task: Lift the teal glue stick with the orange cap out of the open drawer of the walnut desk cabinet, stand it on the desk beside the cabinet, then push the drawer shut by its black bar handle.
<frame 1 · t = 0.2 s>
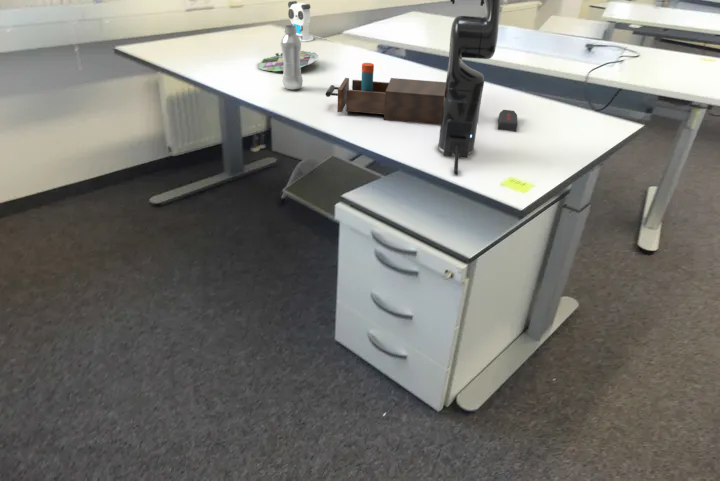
hand: (467, 4, 165), 29 cm above the table, tool pointing down, fingers open, 8 cm apart
drawer: (362, 96, 165), point 4 cm above the table, slide at 13.0 cm, touching glue stick
cabinet: (416, 114, 166), on the table
city model: (288, 66, 207), on the table
plastic bottle: (292, 89, 183), on the table
glue stick: (366, 104, 166), point 2 cm above the table, touching drawer
panda figurine: (300, 39, 245), on the table
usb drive: (506, 124, 162), on the table
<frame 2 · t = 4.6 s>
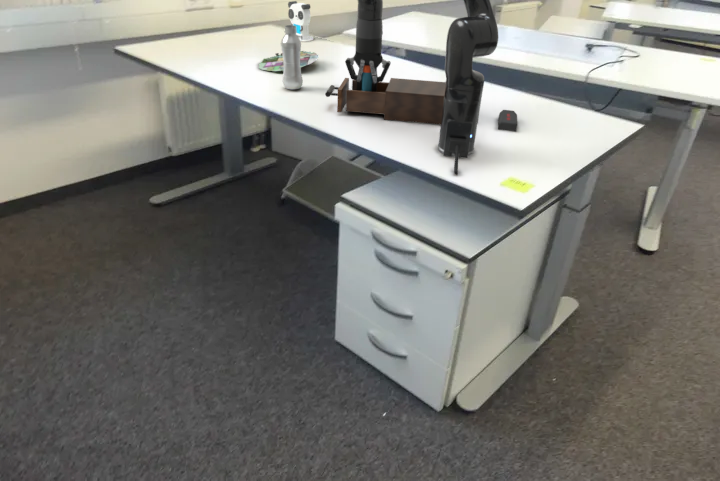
hand: (366, 93, 165), 5 cm above the table, tool pointing down, fingers closed on glue stick, 3 cm apart
glue stick: (366, 104, 166), point 2 cm above the table, touching drawer, gripper
everything else where it was.
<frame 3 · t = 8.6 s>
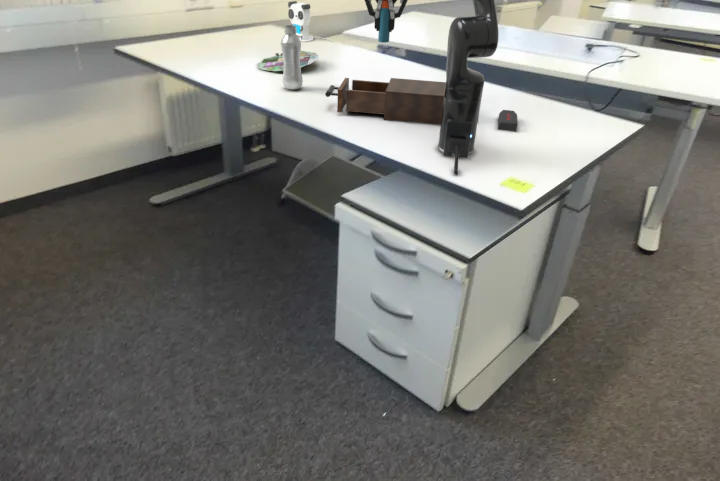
hand: (384, 30, 168), 21 cm above the table, tool pointing down, fingers closed on glue stick, 3 cm apart
drawer: (362, 96, 165), point 4 cm above the table, slide at 13.0 cm
glue stick: (383, 41, 170), point 17 cm above the table, touching gripper
everything else where it was.
when the fingers open (3 cm above the table, at t = 12.6 s): glue stick stays where it is, on the table.
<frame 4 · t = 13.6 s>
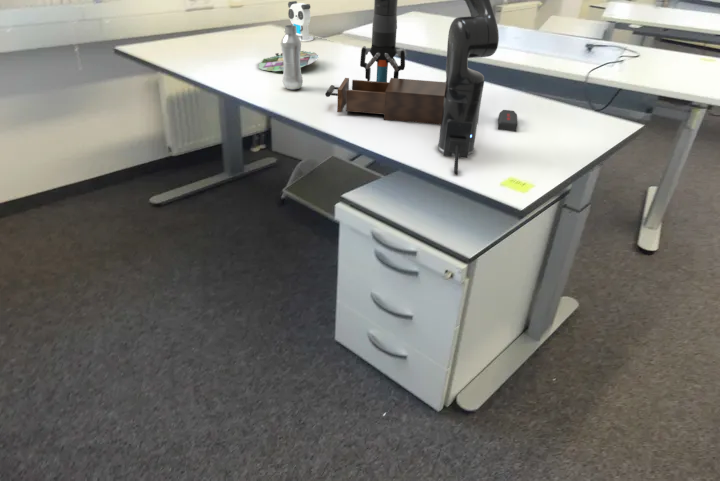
hand: (381, 81, 177), 5 cm above the table, tool pointing down, fingers open, 8 cm apart
glue stick: (380, 95, 180), on the table
everything else where it was.
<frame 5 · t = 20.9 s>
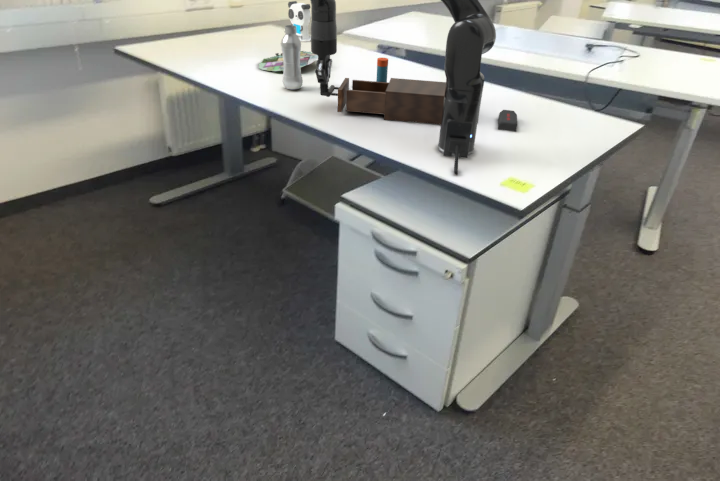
hand: (324, 94, 167), 4 cm above the table, tool pointing down, fingers closed
drawer: (362, 96, 165), point 4 cm above the table, slide at 13.0 cm, touching gripper
everything else where it was.
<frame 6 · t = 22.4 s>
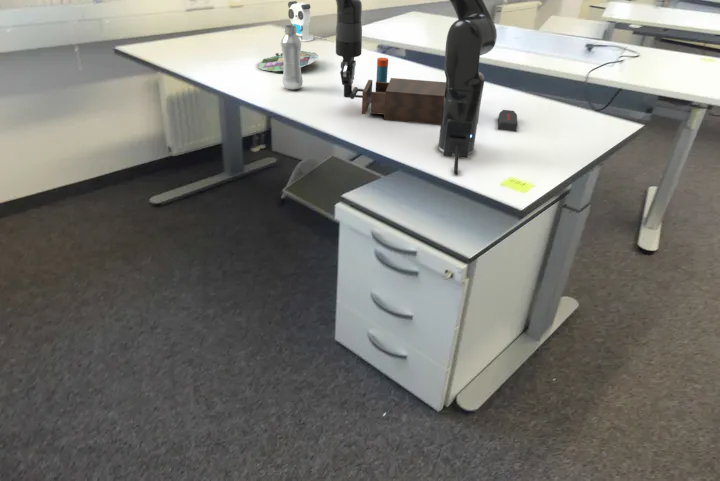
hand: (347, 96, 166), 4 cm above the table, tool pointing down, fingers closed
drawer: (386, 98, 164), point 4 cm above the table, slide at 5.6 cm, touching gripper
everything else where it was.
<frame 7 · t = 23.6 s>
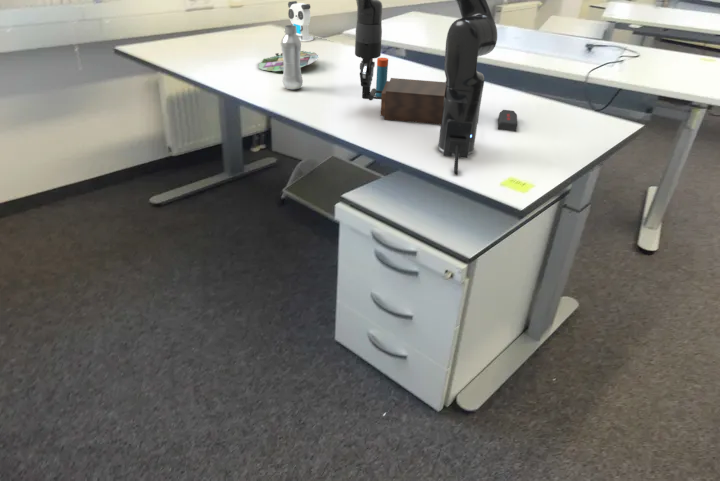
hand: (365, 98, 165), 4 cm above the table, tool pointing down, fingers closed
drawer: (405, 99, 164), point 4 cm above the table, slide at 0.0 cm, touching cabinet, gripper
everything else where it was.
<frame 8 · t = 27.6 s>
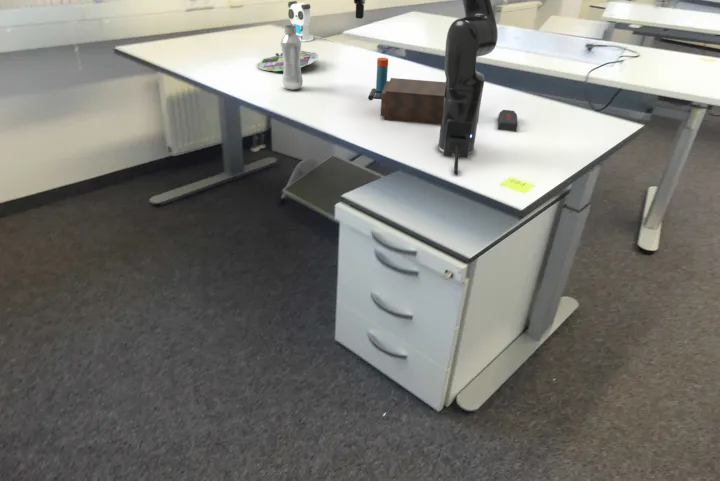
hand: (359, 17, 162), 25 cm above the table, tool pointing down, fingers closed
drawer: (405, 99, 164), point 4 cm above the table, slide at 0.0 cm, touching cabinet
everything else where it was.
at the end: glue stick inside the target area (0.1 cm from its centre), on the table; glue stick tilted 0°; drawer slide at 0.0 cm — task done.
